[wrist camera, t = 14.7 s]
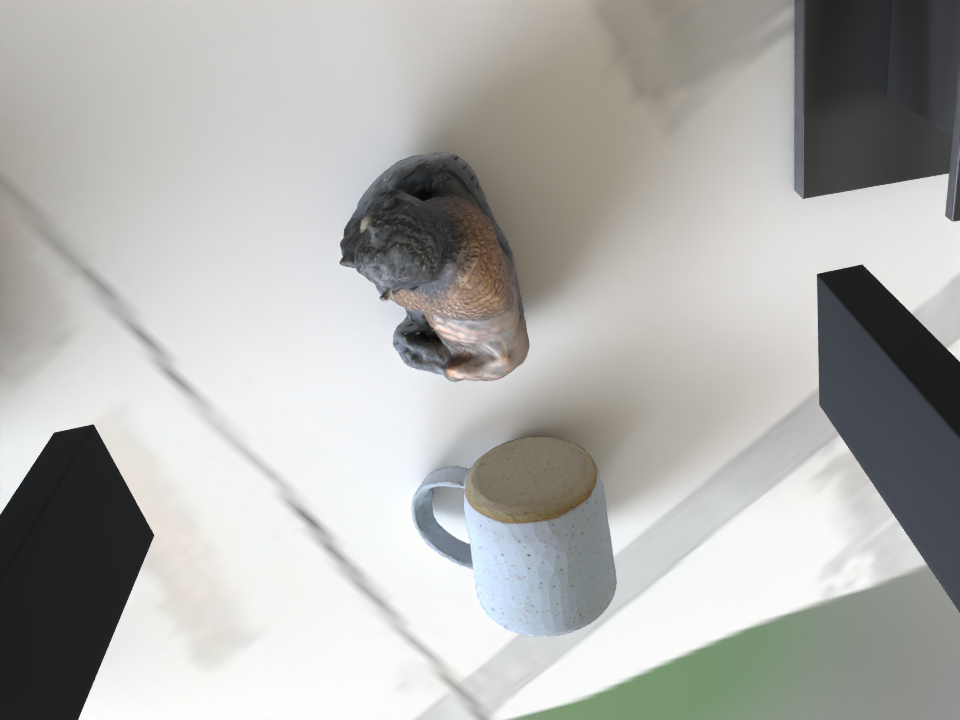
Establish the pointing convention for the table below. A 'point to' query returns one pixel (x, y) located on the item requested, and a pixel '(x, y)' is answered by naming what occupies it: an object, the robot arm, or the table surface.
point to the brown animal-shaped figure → (440, 268)
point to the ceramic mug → (529, 534)
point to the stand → (876, 94)
